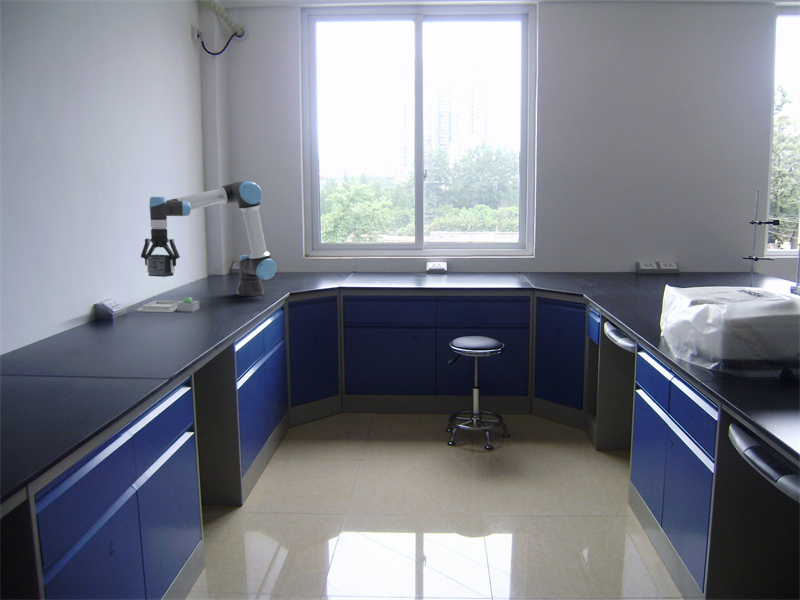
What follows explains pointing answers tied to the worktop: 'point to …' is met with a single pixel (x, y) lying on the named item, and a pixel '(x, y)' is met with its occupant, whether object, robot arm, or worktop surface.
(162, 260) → the small box
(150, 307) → the plate
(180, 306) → the console
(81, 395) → the worktop surface
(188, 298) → the button
